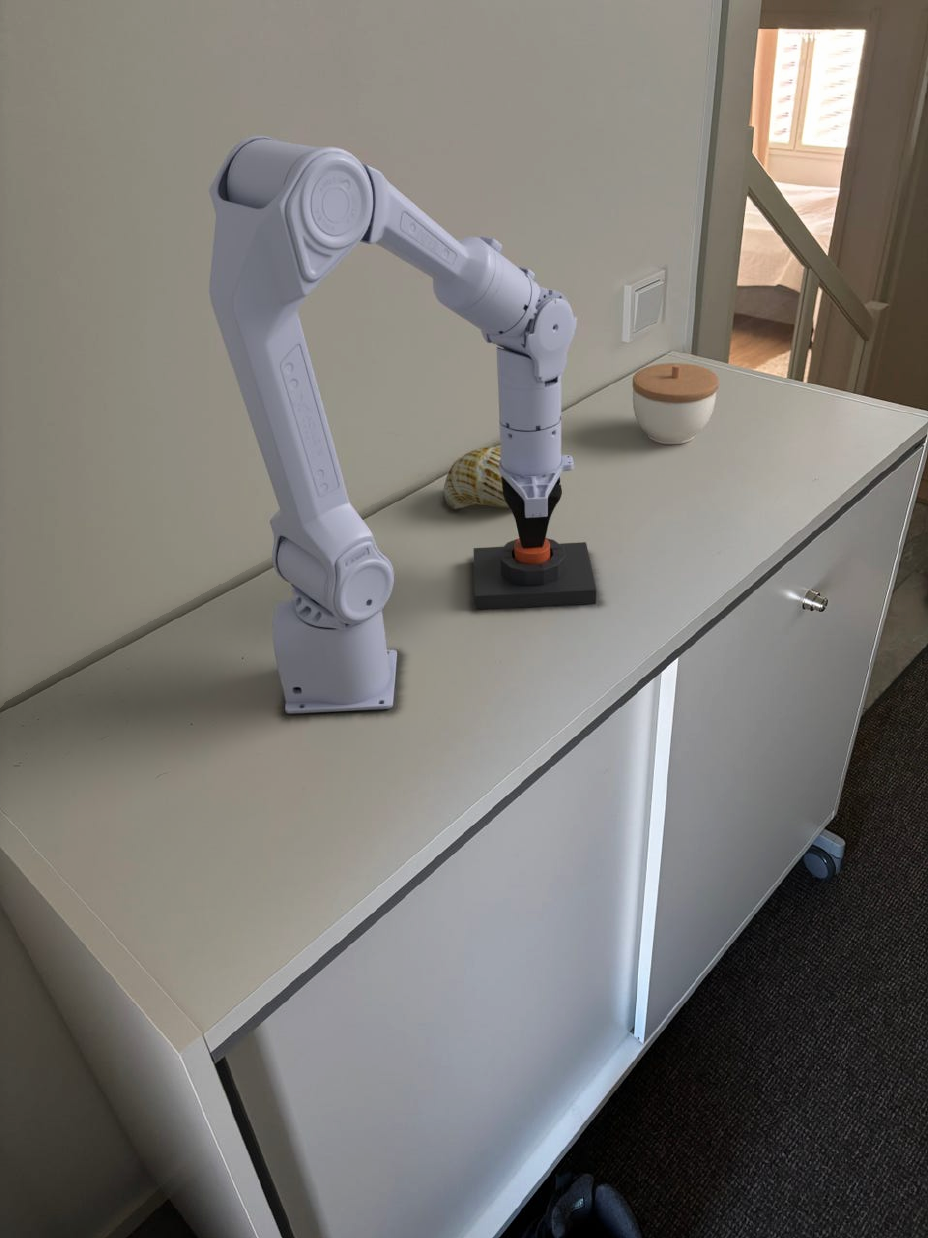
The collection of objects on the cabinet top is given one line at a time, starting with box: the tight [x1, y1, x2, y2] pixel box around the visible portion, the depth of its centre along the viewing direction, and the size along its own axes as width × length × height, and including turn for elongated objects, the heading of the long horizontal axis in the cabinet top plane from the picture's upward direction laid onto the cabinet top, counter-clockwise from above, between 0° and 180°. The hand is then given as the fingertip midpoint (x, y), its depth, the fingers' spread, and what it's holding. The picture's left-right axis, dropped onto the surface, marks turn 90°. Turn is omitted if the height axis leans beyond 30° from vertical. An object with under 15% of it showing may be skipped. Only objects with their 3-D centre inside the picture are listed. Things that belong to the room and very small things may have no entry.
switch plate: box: [473, 537, 597, 611], centre depth 94 cm, size 12×9×4 cm
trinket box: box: [632, 362, 720, 445], centre depth 119 cm, size 11×11×9 cm
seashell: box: [443, 444, 510, 510], centre depth 108 cm, size 10×10×10 cm
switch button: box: [514, 537, 550, 565], centre depth 93 cm, size 4×4×2 cm
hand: (532, 544), depth 93 cm, fingers closed, pressing on switch button
